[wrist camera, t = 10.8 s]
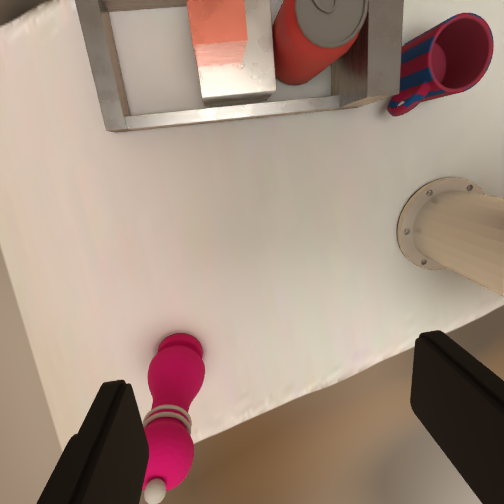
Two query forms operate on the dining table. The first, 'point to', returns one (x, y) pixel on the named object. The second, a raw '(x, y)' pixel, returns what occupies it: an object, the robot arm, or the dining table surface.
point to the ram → (233, 50)
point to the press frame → (343, 96)
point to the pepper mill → (171, 413)
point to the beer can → (314, 36)
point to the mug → (443, 61)
